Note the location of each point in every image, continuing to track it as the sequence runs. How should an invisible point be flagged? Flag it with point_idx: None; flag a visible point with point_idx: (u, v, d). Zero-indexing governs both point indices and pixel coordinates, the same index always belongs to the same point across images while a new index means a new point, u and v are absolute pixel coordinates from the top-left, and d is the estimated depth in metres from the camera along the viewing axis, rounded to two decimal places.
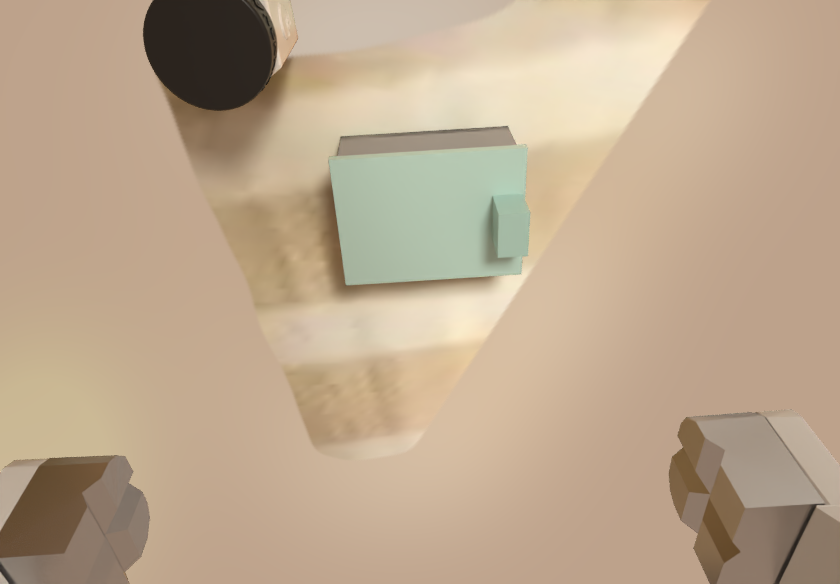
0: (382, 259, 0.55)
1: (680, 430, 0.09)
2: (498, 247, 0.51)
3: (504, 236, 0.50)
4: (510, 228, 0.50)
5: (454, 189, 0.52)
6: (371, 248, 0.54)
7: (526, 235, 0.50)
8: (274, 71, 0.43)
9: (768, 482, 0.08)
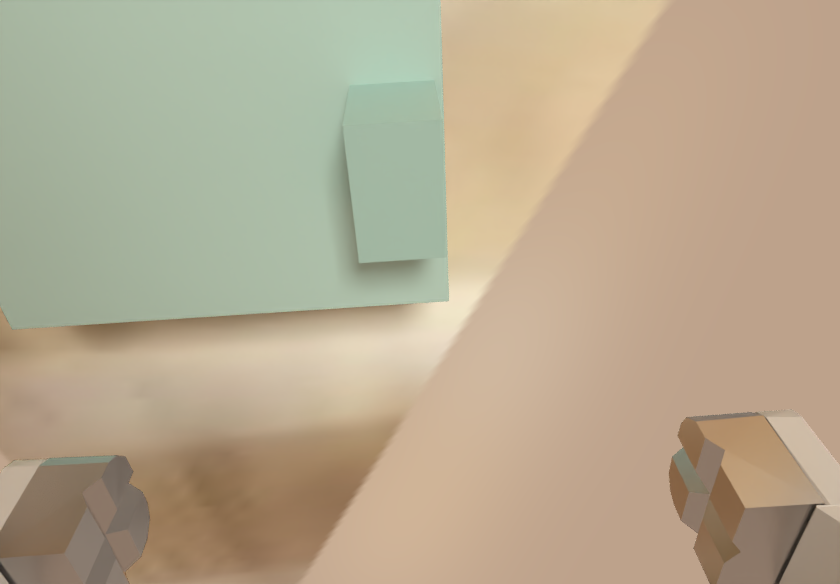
0: (85, 265, 0.21)
1: (680, 430, 0.09)
2: (357, 232, 0.17)
3: (371, 198, 0.17)
4: (386, 171, 0.16)
5: (236, 65, 0.18)
6: (46, 237, 0.21)
7: (436, 196, 0.17)
8: None
9: (768, 482, 0.08)
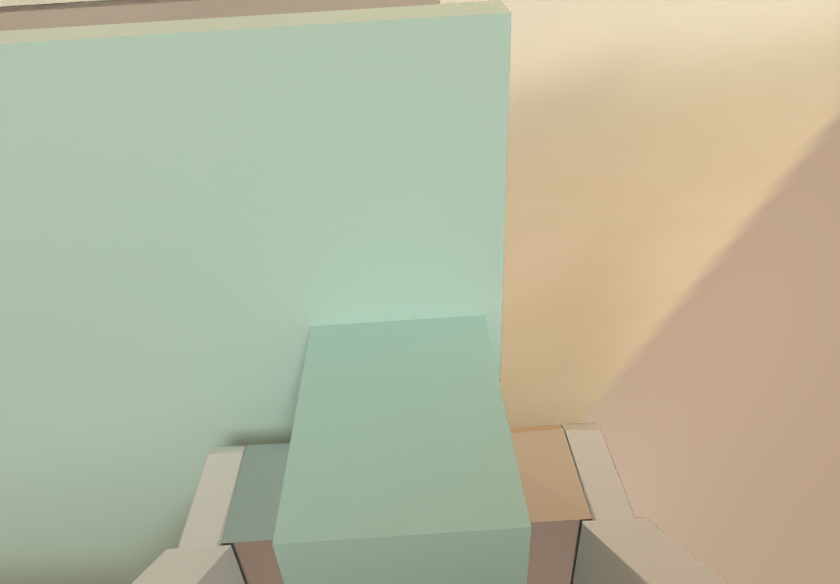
0: None
1: None
2: None
3: None
4: None
5: (71, 297, 0.08)
6: None
7: None
8: None
9: (544, 497, 0.08)
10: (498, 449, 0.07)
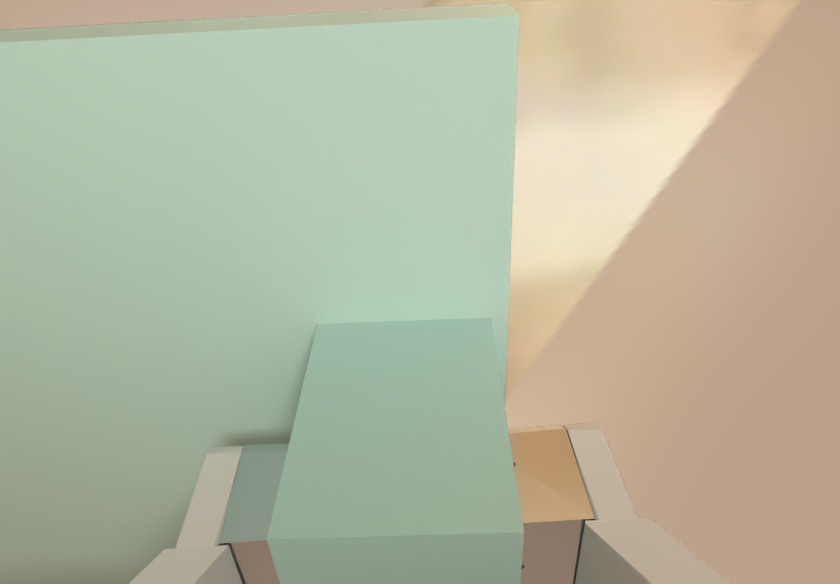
0: None
1: None
2: None
3: None
4: None
5: (84, 289, 0.09)
6: None
7: None
8: None
9: (547, 496, 0.08)
10: (496, 453, 0.07)
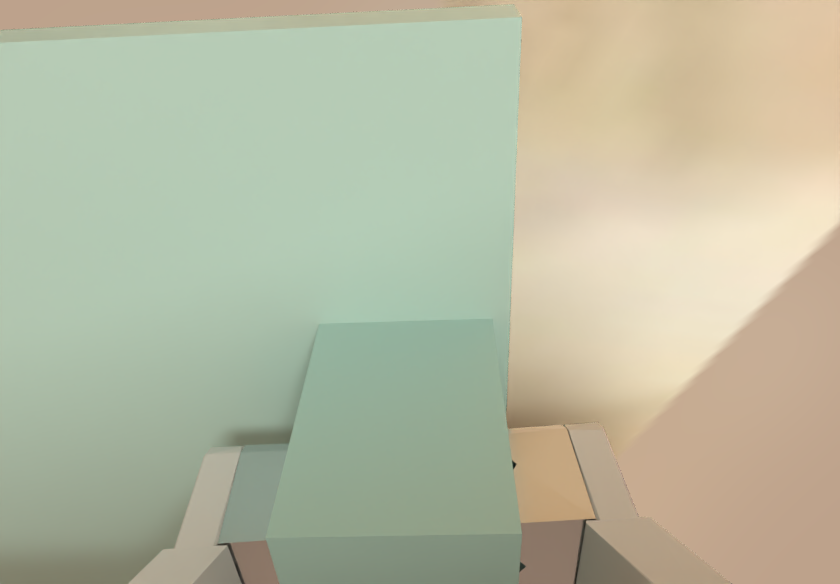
0: None
1: None
2: None
3: None
4: None
5: (88, 287, 0.09)
6: None
7: None
8: None
9: (548, 496, 0.08)
10: (495, 454, 0.07)
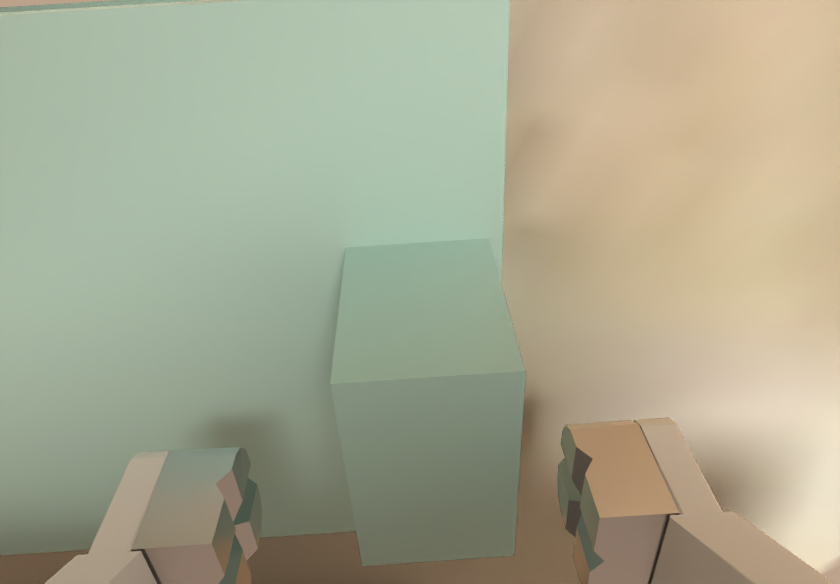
0: None
1: (562, 438, 0.09)
2: (359, 525, 0.10)
3: (384, 484, 0.09)
4: (412, 447, 0.09)
5: (152, 220, 0.10)
6: None
7: (503, 479, 0.09)
8: None
9: (628, 491, 0.08)
10: (500, 325, 0.09)
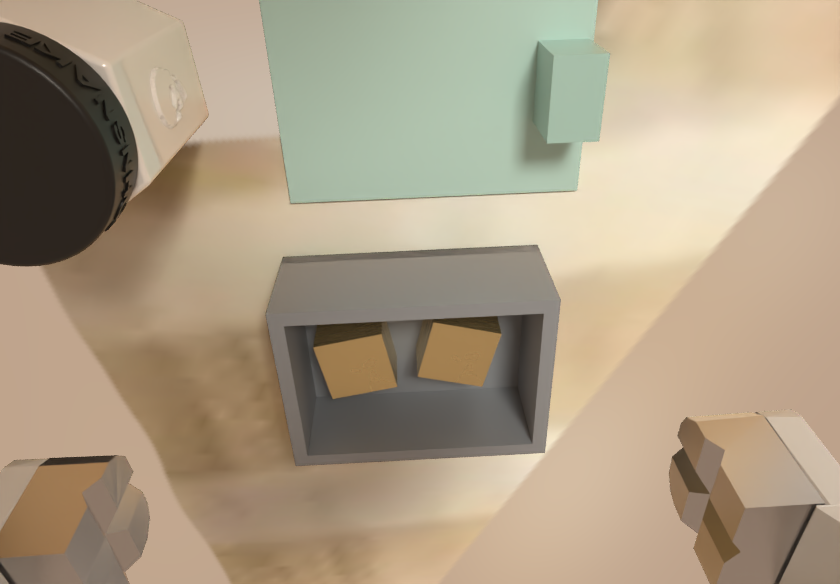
0: (350, 157, 0.33)
1: (680, 430, 0.09)
2: (549, 123, 0.29)
3: (561, 100, 0.29)
4: (572, 84, 0.28)
5: (474, 26, 0.30)
6: (331, 137, 0.33)
7: (598, 101, 0.29)
8: (137, 191, 0.24)
9: (768, 482, 0.08)
10: (599, 48, 0.28)
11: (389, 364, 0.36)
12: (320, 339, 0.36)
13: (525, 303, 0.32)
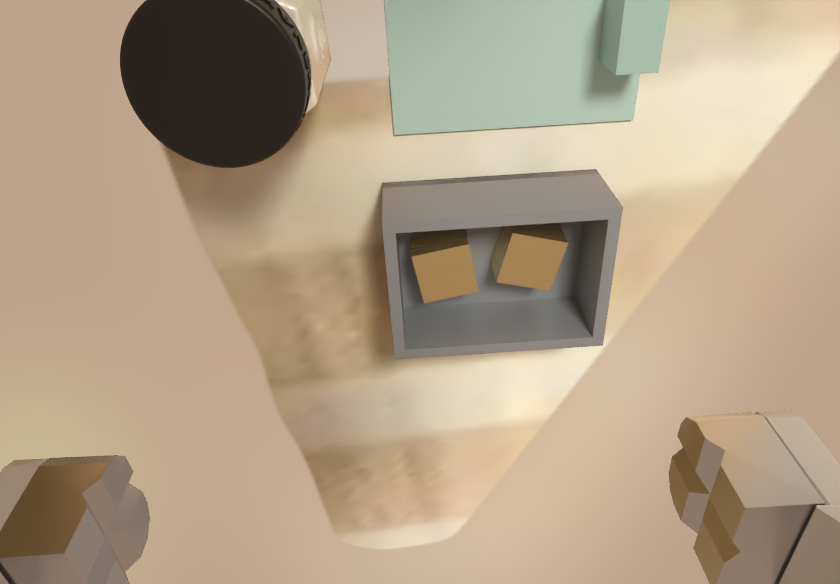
0: (446, 94, 0.40)
1: (680, 430, 0.09)
2: (618, 58, 0.36)
3: (629, 38, 0.35)
4: (639, 24, 0.35)
5: None
6: (431, 76, 0.39)
7: (659, 38, 0.35)
8: (306, 110, 0.31)
9: (768, 482, 0.08)
10: None
11: (473, 271, 0.43)
12: (416, 250, 0.43)
13: (593, 210, 0.39)
